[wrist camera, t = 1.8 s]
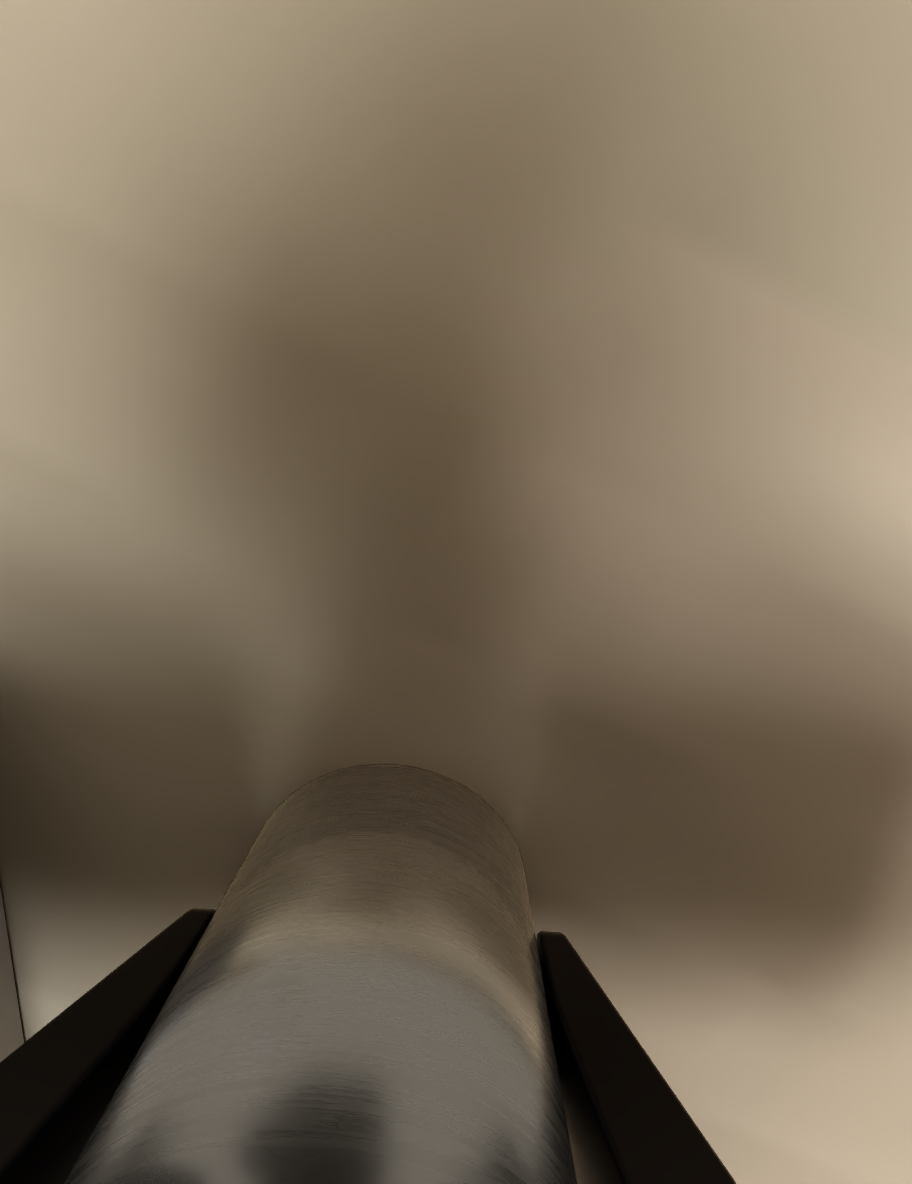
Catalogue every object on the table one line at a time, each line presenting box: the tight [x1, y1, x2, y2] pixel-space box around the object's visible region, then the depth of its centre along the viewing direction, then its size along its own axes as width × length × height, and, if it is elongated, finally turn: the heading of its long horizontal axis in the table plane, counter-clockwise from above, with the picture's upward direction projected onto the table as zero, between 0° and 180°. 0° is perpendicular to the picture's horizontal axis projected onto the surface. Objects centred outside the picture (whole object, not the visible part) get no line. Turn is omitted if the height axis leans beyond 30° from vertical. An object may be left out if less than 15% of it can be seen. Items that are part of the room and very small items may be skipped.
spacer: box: [64, 764, 577, 1184], centre depth 7 cm, size 5×5×5 cm
